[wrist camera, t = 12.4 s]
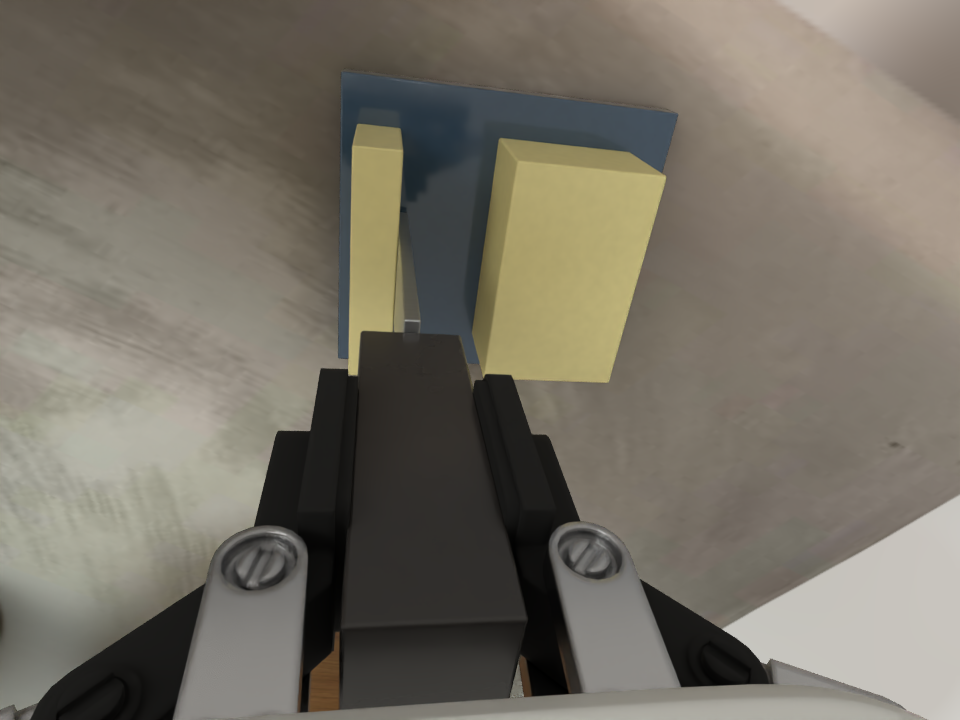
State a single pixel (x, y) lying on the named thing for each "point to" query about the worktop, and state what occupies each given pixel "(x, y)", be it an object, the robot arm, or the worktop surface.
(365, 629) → the knife
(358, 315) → the butter slice
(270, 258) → the worktop surface
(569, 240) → the butter block
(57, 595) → the worktop surface
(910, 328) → the worktop surface
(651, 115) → the butter dish
